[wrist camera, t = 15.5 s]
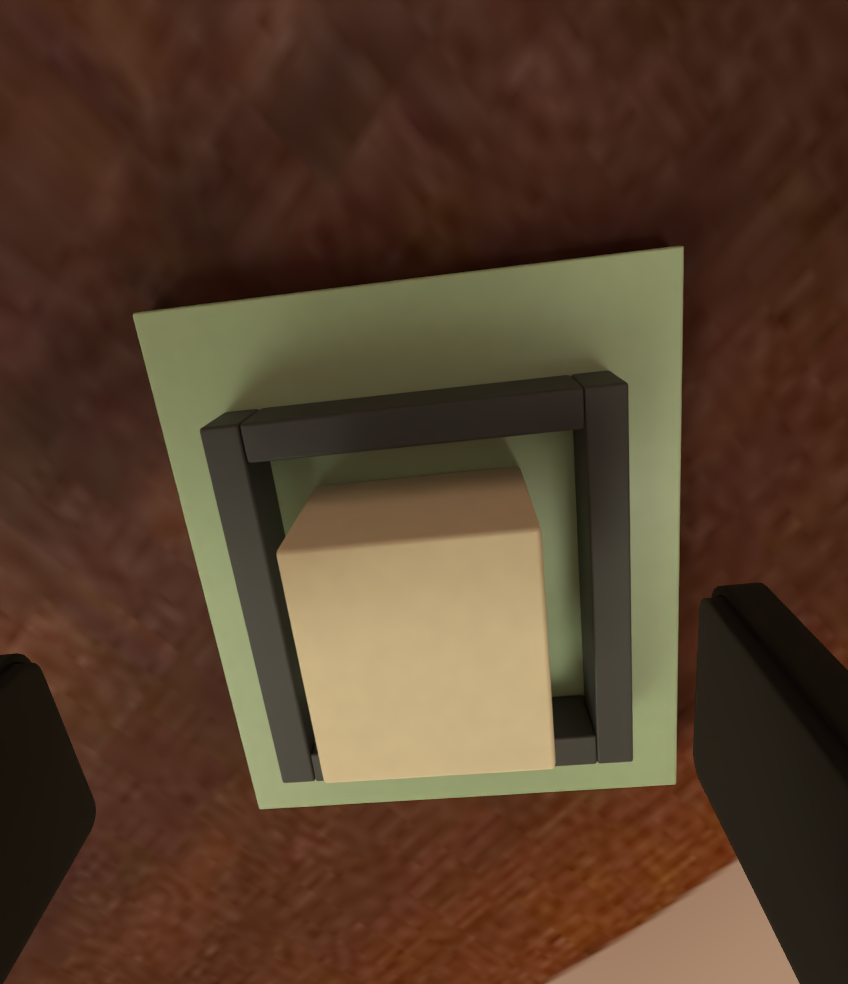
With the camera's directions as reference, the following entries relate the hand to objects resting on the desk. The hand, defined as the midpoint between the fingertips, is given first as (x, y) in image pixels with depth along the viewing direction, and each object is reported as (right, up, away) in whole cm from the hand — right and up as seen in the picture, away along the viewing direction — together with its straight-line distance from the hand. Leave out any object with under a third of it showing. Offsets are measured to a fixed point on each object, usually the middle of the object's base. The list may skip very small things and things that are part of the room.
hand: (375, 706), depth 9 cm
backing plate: (+1, +1, +6) cm, 7 cm away
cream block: (+1, +1, +6) cm, 6 cm away
